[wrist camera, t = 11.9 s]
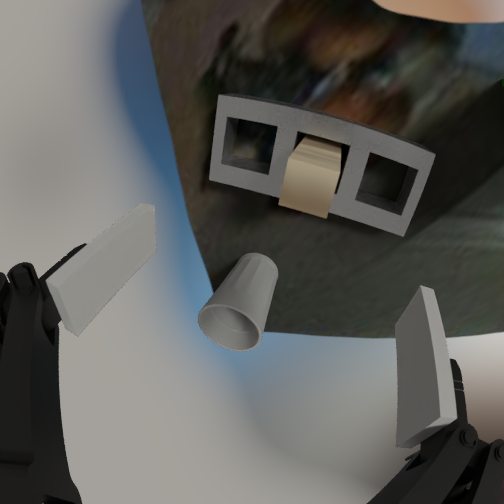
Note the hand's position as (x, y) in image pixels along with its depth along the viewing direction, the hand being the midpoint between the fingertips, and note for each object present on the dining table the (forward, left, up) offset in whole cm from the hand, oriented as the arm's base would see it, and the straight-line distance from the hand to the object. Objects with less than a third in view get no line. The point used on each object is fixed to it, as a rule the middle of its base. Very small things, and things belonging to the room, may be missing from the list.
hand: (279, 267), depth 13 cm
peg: (0, 0, -23) cm, 23 cm away
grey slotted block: (0, 0, -23) cm, 23 cm away
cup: (+19, -4, -23) cm, 30 cm away
